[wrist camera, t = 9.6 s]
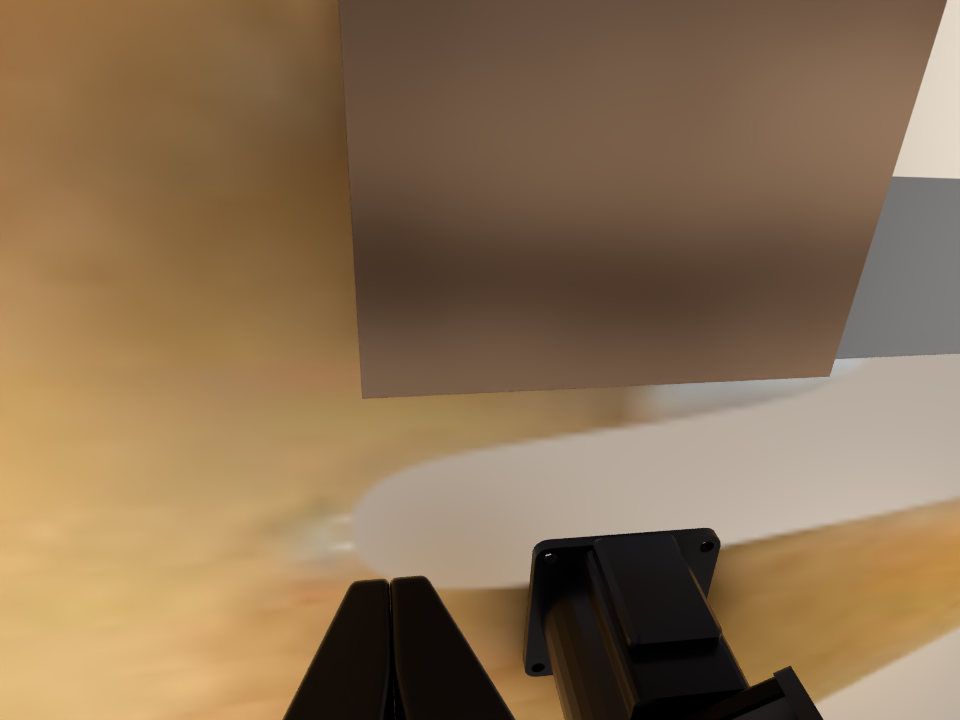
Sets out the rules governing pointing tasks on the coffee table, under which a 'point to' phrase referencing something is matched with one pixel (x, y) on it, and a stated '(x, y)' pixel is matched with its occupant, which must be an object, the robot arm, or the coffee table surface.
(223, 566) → the coffee table surface
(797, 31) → the walnut board
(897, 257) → the charcoal mat
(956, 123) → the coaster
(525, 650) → the robot arm
